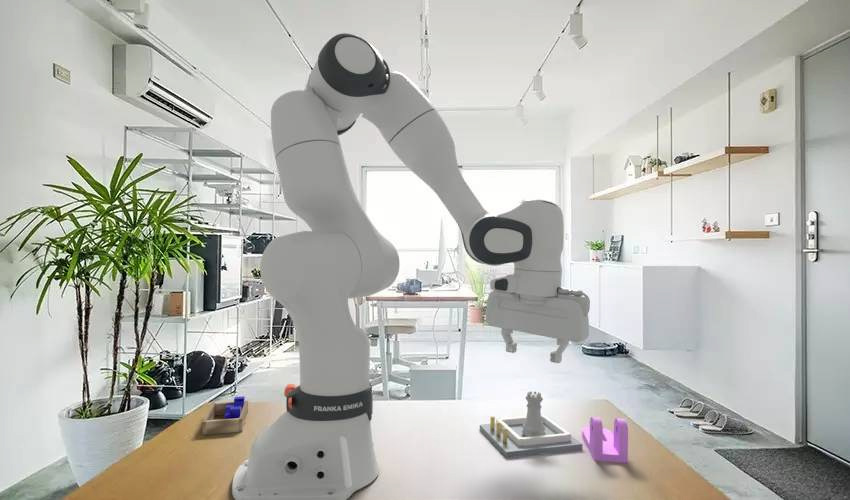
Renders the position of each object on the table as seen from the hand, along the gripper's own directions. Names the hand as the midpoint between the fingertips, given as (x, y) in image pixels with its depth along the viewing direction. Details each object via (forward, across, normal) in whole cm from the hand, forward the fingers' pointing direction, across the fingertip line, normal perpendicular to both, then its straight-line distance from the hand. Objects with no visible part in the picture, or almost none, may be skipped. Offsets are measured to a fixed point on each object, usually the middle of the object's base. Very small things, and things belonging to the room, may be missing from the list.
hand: (532, 356), depth 93 cm
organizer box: (+18, +50, +34) cm, 63 cm away
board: (+16, 0, 0) cm, 16 cm away
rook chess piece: (+15, -1, 0) cm, 15 cm away
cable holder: (+19, +50, +33) cm, 63 cm away
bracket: (+16, -12, -6) cm, 21 cm away
